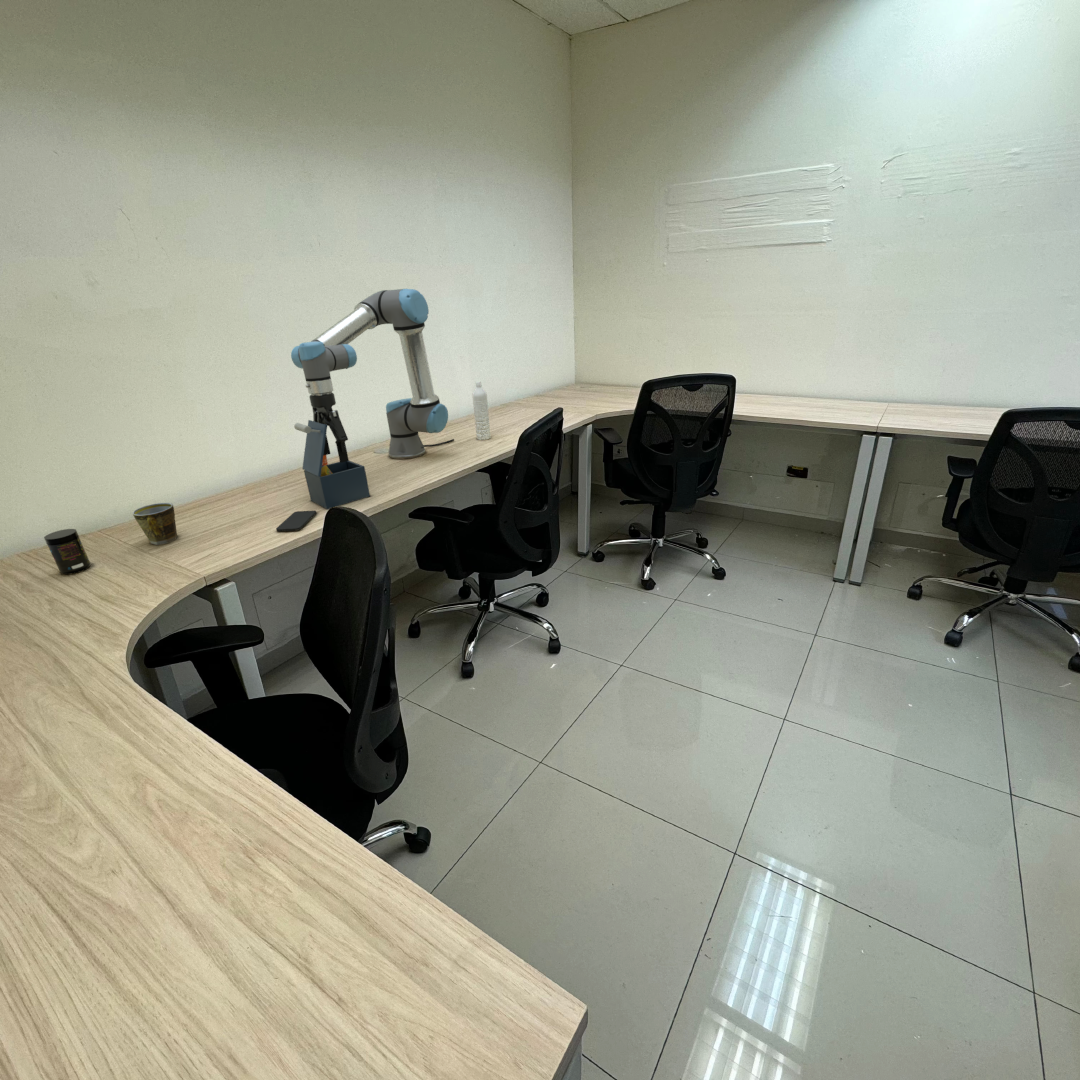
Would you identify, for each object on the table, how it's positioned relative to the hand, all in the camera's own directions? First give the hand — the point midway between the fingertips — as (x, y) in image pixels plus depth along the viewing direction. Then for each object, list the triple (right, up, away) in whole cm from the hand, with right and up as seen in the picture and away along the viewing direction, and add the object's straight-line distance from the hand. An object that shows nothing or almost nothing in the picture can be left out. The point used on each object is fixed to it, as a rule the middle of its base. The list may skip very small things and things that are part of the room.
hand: (335, 458), depth 184 cm
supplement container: (-56, -36, -36) cm, 76 cm away
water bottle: (+42, +20, +73) cm, 87 cm away
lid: (-4, +2, -5) cm, 7 cm away
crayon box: (0, -11, +5) cm, 13 cm away
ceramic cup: (-42, -28, -22) cm, 55 cm away
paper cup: (-12, -7, +21) cm, 25 cm away
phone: (-7, -22, -13) cm, 26 cm away
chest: (0, -13, +5) cm, 14 cm away
